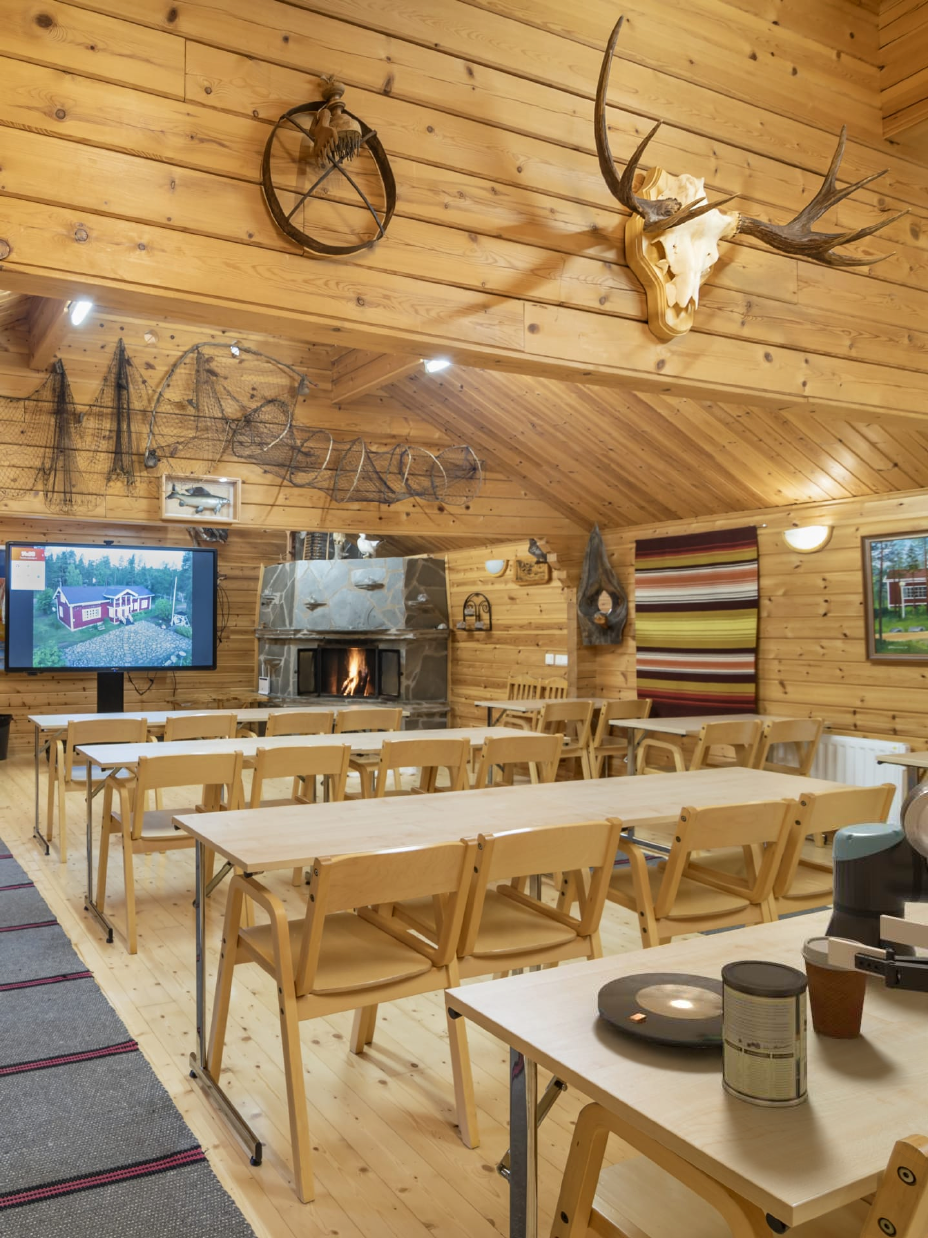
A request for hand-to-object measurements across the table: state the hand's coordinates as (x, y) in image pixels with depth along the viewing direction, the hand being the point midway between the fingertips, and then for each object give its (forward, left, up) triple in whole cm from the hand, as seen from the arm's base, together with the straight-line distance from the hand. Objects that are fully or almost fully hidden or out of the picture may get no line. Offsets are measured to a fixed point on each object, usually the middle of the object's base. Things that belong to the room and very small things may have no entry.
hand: (856, 938), depth 109 cm
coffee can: (0, -12, -21) cm, 24 cm away
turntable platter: (-9, -30, -19) cm, 37 cm away
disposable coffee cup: (-24, -14, -21) cm, 35 cm away
